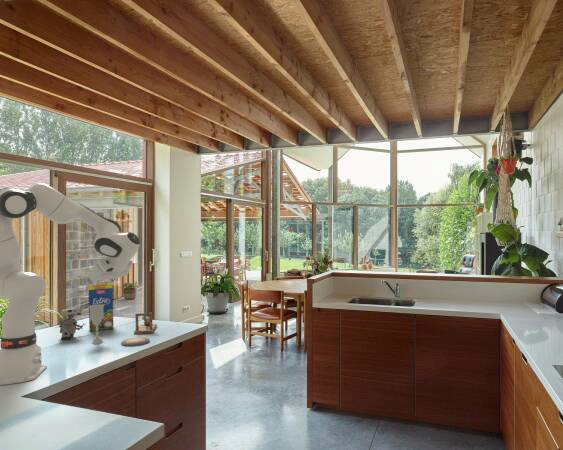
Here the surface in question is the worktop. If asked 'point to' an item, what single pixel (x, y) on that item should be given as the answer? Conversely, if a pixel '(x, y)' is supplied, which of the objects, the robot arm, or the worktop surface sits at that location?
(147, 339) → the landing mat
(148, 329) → the toy catapult
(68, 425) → the worktop surface
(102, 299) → the blue food package
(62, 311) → the figurine
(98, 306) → the chalice
